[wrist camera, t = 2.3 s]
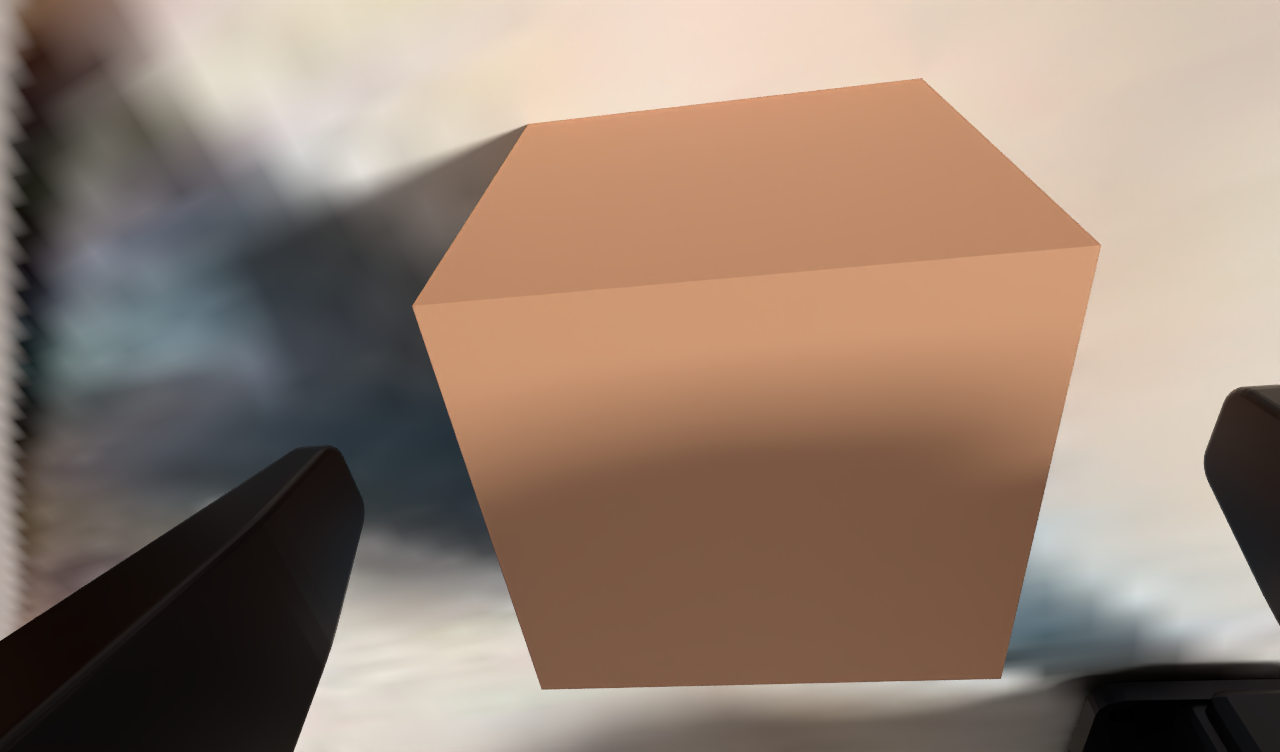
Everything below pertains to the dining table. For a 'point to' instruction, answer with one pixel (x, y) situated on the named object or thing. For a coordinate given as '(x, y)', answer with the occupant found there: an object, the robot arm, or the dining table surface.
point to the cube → (761, 387)
